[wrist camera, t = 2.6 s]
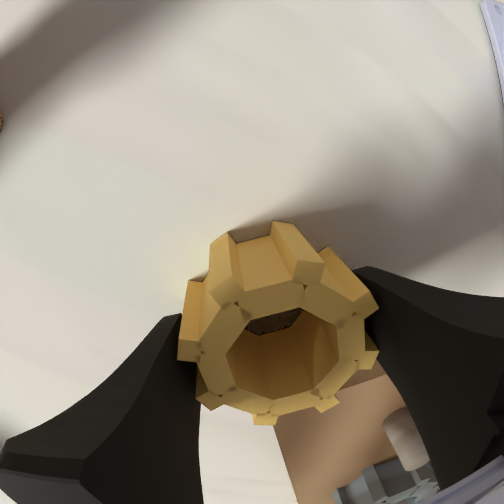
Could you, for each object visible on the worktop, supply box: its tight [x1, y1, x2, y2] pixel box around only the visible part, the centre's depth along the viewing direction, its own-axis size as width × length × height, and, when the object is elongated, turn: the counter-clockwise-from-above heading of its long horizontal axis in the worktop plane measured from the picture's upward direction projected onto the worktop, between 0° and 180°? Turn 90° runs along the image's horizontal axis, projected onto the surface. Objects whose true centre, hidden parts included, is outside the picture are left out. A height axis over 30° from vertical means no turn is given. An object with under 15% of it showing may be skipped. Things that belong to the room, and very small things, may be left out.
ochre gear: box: [177, 221, 379, 425], centre depth 10 cm, size 6×6×4 cm
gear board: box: [273, 359, 440, 504], centre depth 14 cm, size 12×16×4 cm
